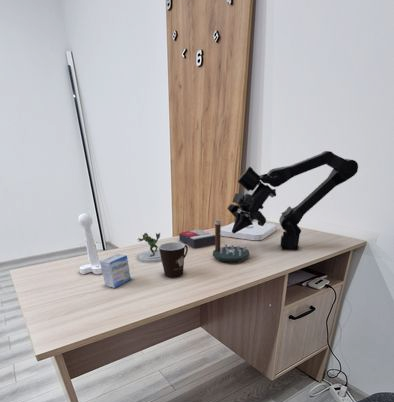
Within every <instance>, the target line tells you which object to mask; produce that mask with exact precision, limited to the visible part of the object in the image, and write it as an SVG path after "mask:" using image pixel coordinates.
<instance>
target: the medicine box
mask: <svg viewBox="0 0 394 402" xmlns="http://www.w3.org/2000/svg"><path fill="white" fill-rule="evenodd" d="M99 261H100V264H101V269H102V277H103V282H104V286H105V287H109V288H112V289H116V288H118V287H120V286H121V285H123V284H125V283H127V282H130V281H131V280H132V277H131V271H130V265H129V260H128V256H127V255H126V254H121V253H117V254H114V255H112V256H110V257H109V256H108V257H106V258H104V259H102V260H99Z"/></svg>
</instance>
